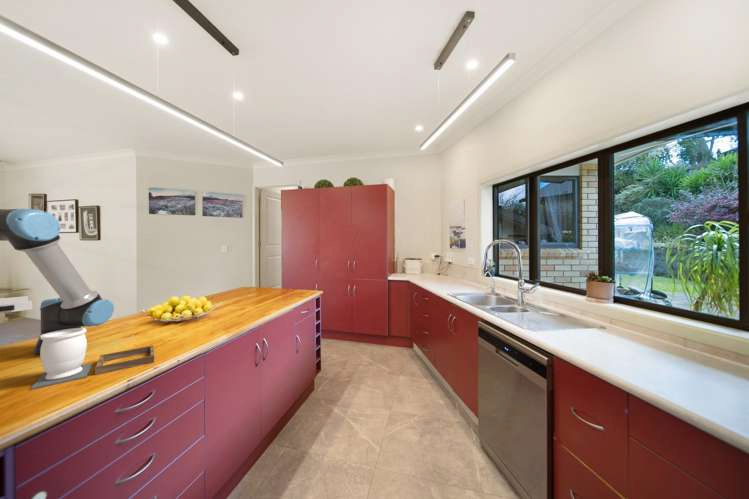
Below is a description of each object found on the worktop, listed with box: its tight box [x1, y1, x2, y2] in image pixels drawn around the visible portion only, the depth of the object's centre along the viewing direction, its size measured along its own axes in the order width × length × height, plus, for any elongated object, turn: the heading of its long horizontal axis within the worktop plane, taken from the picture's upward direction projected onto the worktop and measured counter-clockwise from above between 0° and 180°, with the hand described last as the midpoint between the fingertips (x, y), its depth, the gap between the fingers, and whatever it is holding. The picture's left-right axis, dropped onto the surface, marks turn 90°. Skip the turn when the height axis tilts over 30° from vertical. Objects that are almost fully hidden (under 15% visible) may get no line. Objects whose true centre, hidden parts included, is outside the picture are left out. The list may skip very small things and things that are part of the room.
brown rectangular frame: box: [94, 345, 155, 376], centre depth 103 cm, size 15×16×2 cm
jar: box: [39, 327, 88, 380], centre depth 91 cm, size 11×10×15 cm
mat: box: [30, 362, 93, 391], centre depth 92 cm, size 14×12×1 cm
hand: (30, 302), depth 87 cm, fingers open, 13 cm apart
